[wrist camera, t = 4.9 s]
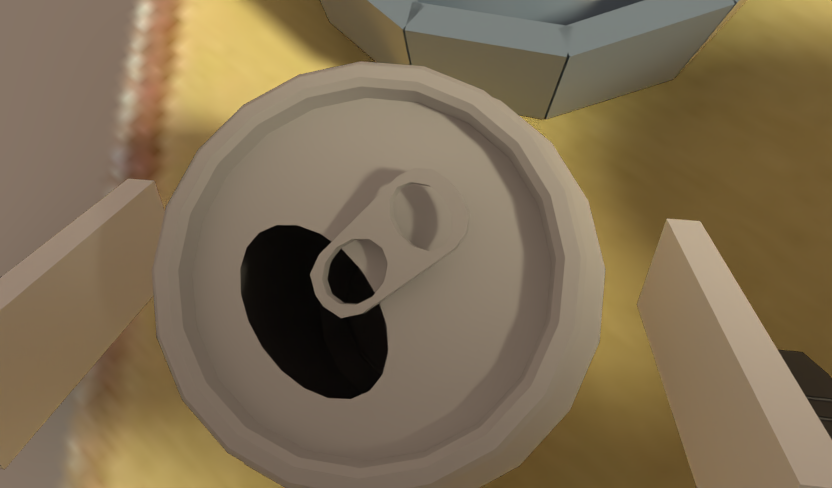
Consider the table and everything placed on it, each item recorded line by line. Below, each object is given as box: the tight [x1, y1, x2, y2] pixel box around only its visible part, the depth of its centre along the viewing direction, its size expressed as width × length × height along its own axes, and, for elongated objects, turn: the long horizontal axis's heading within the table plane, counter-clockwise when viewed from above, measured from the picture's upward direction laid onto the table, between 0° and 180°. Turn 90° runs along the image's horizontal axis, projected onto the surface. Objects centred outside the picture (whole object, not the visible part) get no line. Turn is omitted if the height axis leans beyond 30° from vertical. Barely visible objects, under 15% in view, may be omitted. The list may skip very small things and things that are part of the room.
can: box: [152, 61, 605, 488], centre depth 13 cm, size 8×8×12 cm
